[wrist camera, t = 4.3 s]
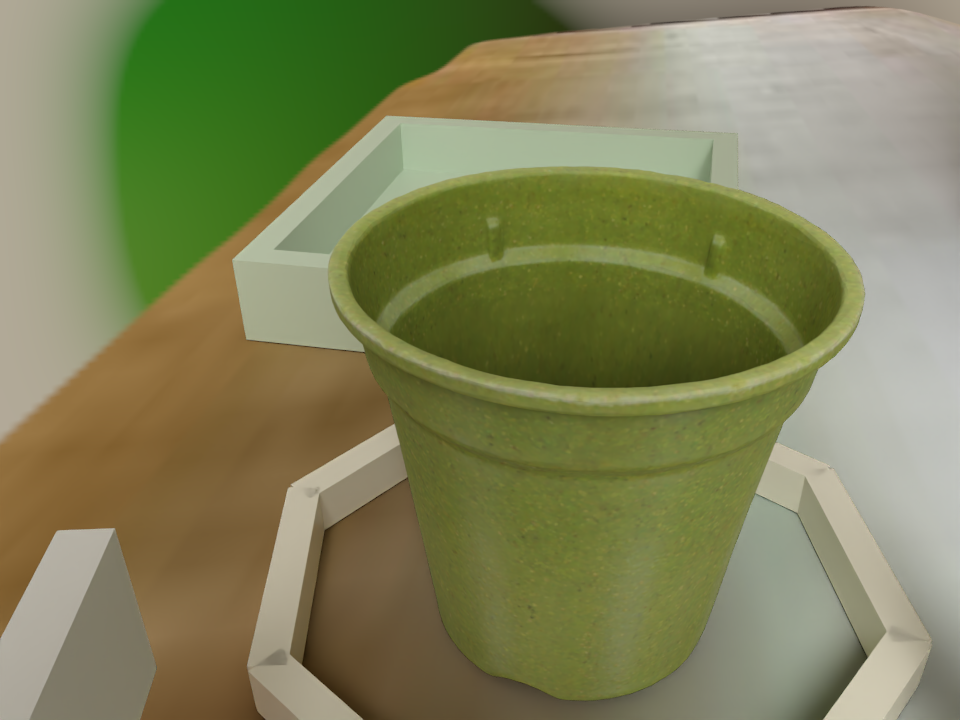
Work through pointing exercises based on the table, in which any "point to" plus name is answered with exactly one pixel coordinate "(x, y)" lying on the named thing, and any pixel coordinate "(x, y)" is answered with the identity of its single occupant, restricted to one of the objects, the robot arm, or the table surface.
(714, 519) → the plant pot
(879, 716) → the collar ring
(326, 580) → the table surface
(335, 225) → the tray
